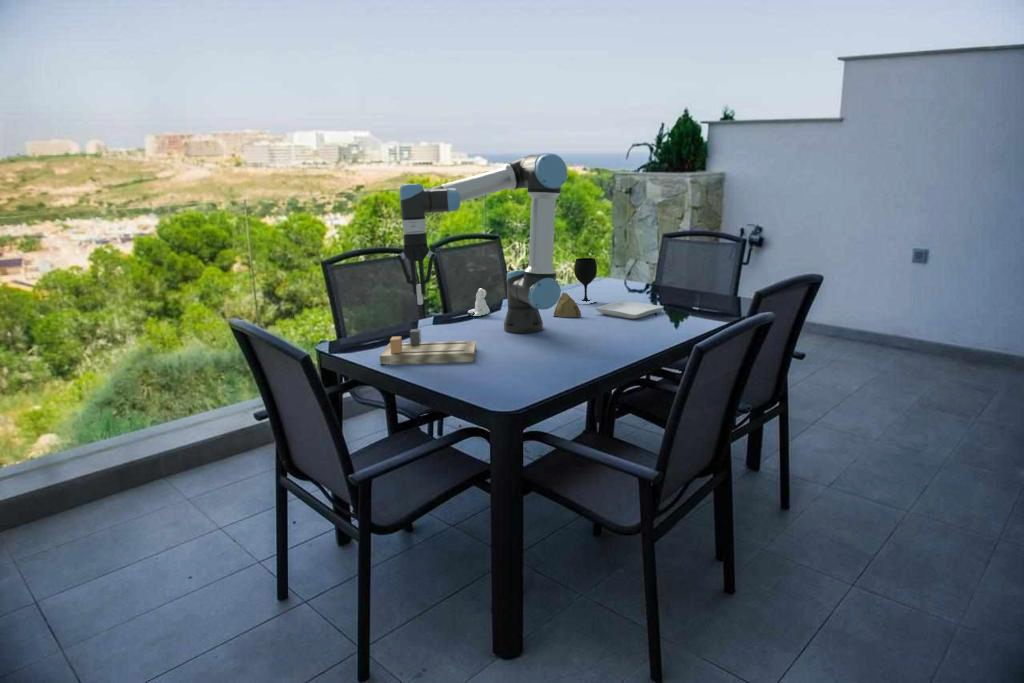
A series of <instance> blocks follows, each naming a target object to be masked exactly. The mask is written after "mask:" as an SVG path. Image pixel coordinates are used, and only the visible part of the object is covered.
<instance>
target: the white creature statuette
mask: <svg viewBox="0 0 1024 683" xmlns="http://www.w3.org/2000/svg"><path fill="white" fill-rule="evenodd" d="M486 296H487V291H486V289H484V288H481V287H480V288H478V289H477V292H476V295H475V303H474V308H472V309H470V310H467V314H468V313H473V312H474V313H475V314H474V315H472V316H481V315H485V314H488V313H489V314H490V311H491V310H490V309H489V306H488V305H487V302H486V299H485V298H486ZM489 314H488V315H489Z"/></svg>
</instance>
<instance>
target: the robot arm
mask: <svg viewBox="0 0 1024 683" xmlns="http://www.w3.org/2000/svg"><path fill="white" fill-rule="evenodd" d="M567 178H568V167H567V165H566V163H565V161H564V159H562V157H561V156H560V155H558V154H555V153H548V152H547V153H538V154H537V153H536V154H530V155H527V156H524V157H522V158H519V159H516V160H514V161H512V162H508V163H504V165H503V166H502V167H500V168H497V169H493V170H490V171H487V172H483V173H479V174H476V175H472V176H468V177H464V178H461V179H457V180H454V181H450V182H446V183H443V184H440V185H435V186H433V187H425V188H424V186H423V184H422V183H406V184H405V183H404V184H402V185H400V187H399V201H400V211H401V220H402V221H401V222H402V223H401V226H402V232H403V233H404V234H403V235H402V236H403V250H402V252H401V253H399V254H398V255H396V259H397V260H398V261H399V262H400V265H401V269H402V271H403V274H404V276H405V280H406V283H407V284H410V285H412V288H413V290H412V291H413V295H416V299H417V300H416V301H417V305H419V306H420V305H422V306H423V304H424V296H423V295H426V292H427V291H426V284H428V283H430V281H431V276H432V271H433V266H434V259H435V258H436V256H437V253H436V252H432V251H431V250H430V247H429V246H428V237H427V236H428V235H427V232H426V231H427V223H426V222H427V221H426V214H430V213H432V214H433V213H451V212H456V211H458V210H459V209H460V206H461V203H463V202H466V201H469V200H474V199H477V198H479V197H484V196H487V195H490V194H494V193H498V192H501V191H504V190H507V189H508V190H510V191H515V190H519V189H527V194H528V195H529V197H530V198H531V199H530V200H531V202H530V224H529V247H528V250H529V251H528V265H527V267H525V269H516V270H509V271H508V272H507V273H506V280H505V282H506V295H507V297H506V298H507V312H506V315H505V318H504V322H503V329H504V330H503V331H505V332H507V333H514V334H528V333H529V334H530V333H536V332H540V331H542V330H544V322H543V320H542V316H541V313H540V311H539V310H544V311H545V310H549V309H551V308H552V307H554V306H555V305H556V304H558V301H559V299H560V297H561V295H562V293H561V292H562V289H561V285H560V284H559V282H558V281H557V271H556V270H555V269H554V267H553V263H554V262H553V260H554V259H553V258H554V242H555V222H556V220H555V218H556V203H557V202H556V201H557V198H558V197H559V196H560V195H561V189H562V186H563V185H564V183H566V180H567ZM427 256H428V265H427V270H426V277H425V266H424V262H425V261H424V260H425V259H426V257H427ZM406 258H407V259H408V260H409V261H410V268H411V275H410V270H409V269H408V265H407V262H406ZM416 262H418V269H419V271H418V273H419V283H418V275H417V263H416Z"/></svg>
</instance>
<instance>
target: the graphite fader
mask: <svg viewBox="0 0 1024 683" xmlns="http://www.w3.org/2000/svg"><path fill="white" fill-rule="evenodd" d="M421 335H422V334H421V328H411V329H410V330H409V339H410V340H409V341H410V342H409V343H411V345H420V343H421V342H422V336H421Z"/></svg>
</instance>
